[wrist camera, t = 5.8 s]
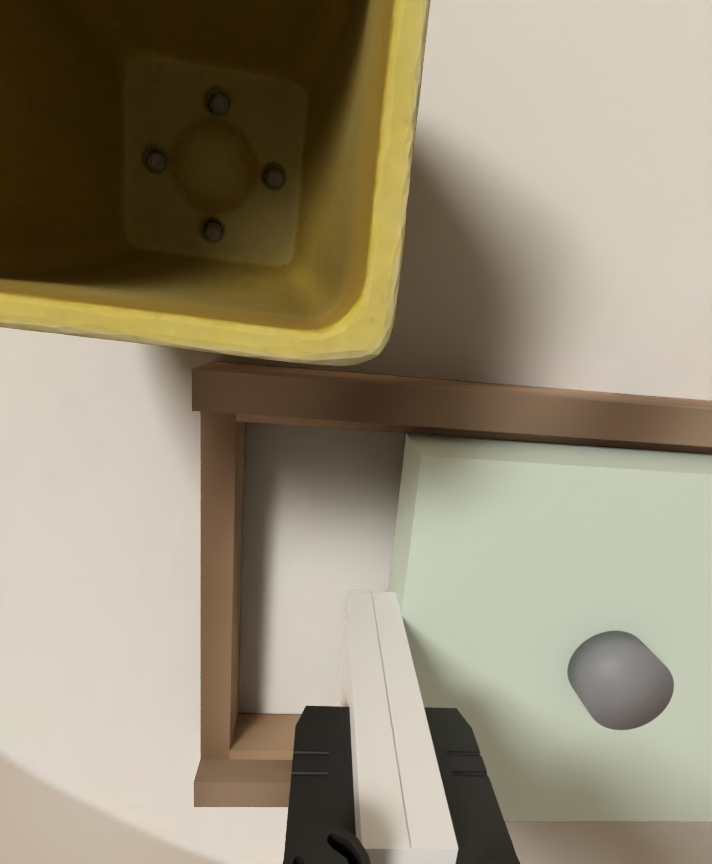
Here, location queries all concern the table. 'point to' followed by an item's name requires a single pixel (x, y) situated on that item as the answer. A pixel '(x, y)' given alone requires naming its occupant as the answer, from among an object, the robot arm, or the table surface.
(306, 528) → the table surface
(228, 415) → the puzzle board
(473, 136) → the table surface
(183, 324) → the flower pot
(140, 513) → the table surface
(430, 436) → the cover
